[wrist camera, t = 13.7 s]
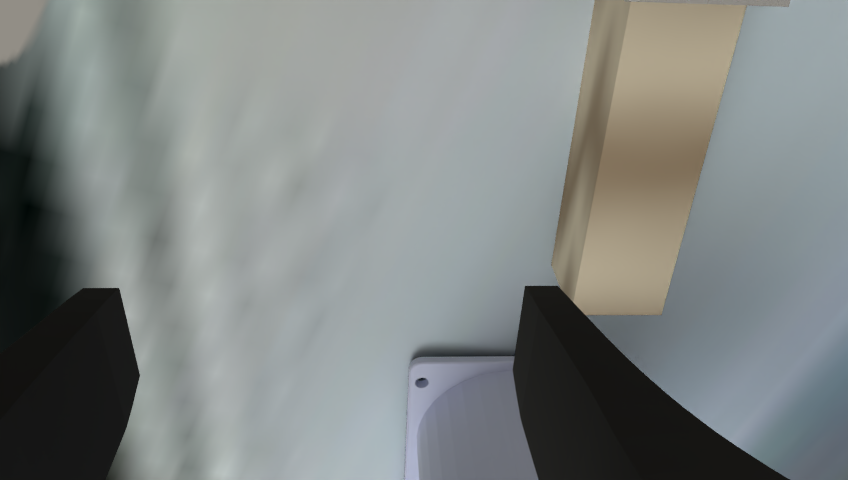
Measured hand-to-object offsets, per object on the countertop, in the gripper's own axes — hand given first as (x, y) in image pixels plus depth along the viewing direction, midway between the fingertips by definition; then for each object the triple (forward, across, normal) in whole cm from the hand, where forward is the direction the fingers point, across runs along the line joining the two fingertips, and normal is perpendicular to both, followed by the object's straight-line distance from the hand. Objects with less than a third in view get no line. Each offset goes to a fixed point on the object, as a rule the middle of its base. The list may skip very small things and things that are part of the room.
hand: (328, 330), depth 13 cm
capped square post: (+10, -9, +1) cm, 14 cm away
